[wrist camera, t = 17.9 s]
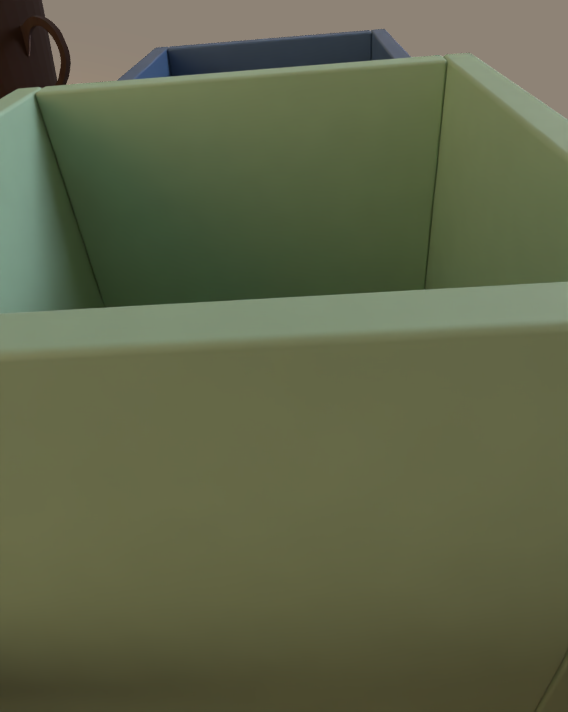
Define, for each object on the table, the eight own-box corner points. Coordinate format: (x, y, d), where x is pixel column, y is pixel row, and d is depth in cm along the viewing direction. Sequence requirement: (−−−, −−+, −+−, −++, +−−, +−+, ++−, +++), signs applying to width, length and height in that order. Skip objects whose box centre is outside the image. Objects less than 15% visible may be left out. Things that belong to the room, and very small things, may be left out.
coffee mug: (-38, 146, 44) (-100, 1, 38) (67, 124, 48) (25, -14, 41) (-17, 185, 36) (-91, 9, 30) (108, 155, 40) (63, -10, 33)
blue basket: (376, 263, 24) (385, 28, 19) (406, 381, 18) (433, 78, 12) (198, 273, 24) (154, 47, 19) (166, 392, 18) (86, 105, 13)
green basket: (422, 450, 15) (471, 51, 9) (513, 810, 9) (857, 309, 3) (145, 461, 16) (16, 88, 10) (47, 812, 10) (-499, 380, 3)
